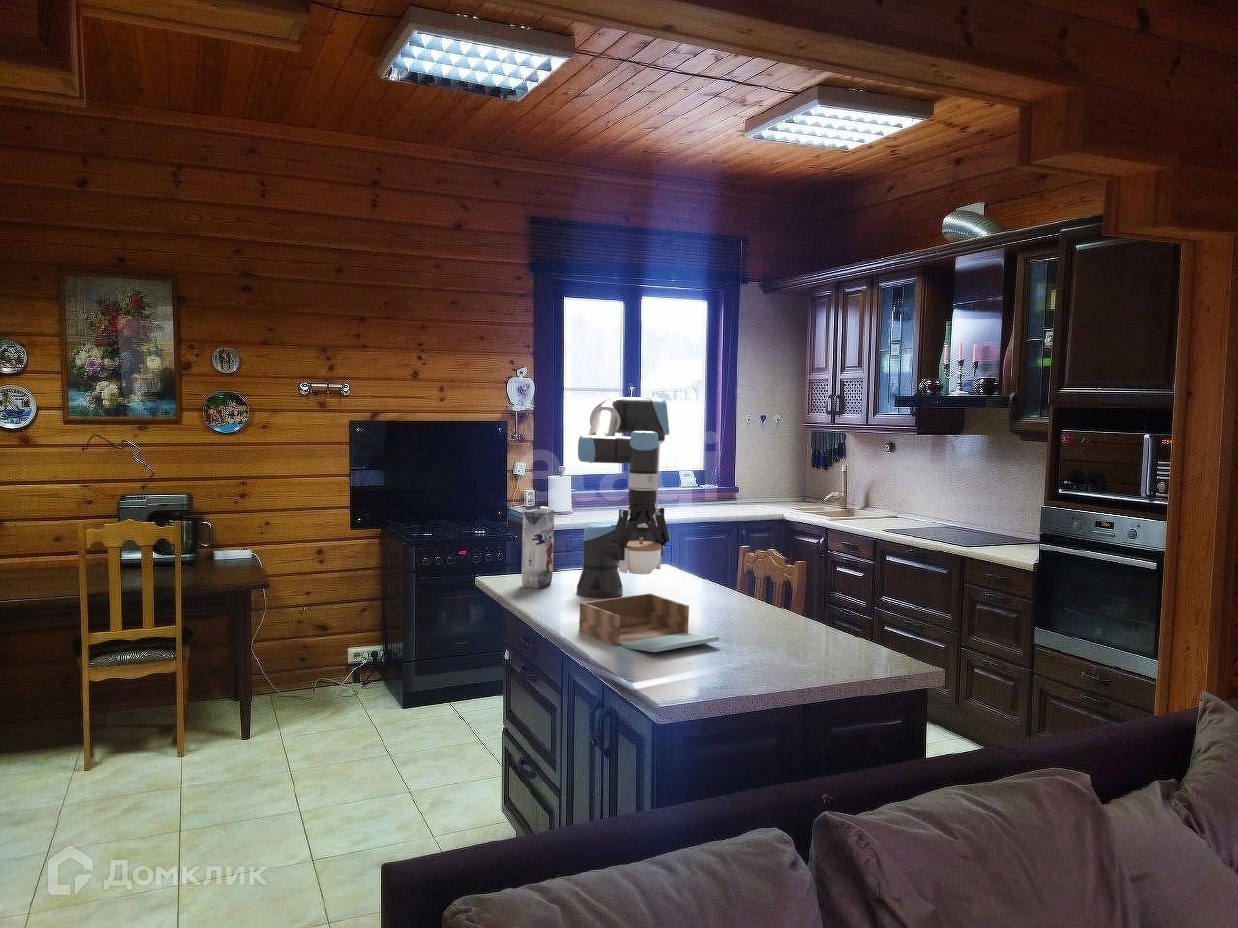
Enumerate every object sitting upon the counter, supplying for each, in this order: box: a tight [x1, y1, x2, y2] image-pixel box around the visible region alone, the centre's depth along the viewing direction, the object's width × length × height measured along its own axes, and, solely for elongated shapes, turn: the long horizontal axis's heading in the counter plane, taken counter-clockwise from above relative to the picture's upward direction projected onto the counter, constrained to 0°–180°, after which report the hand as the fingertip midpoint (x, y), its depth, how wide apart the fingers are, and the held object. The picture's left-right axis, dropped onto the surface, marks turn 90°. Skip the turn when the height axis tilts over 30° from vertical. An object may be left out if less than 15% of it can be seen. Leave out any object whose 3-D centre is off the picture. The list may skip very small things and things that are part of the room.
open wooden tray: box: [578, 593, 690, 647], centre depth 242 cm, size 17×24×9 cm
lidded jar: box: [626, 538, 661, 575], centre depth 241 cm, size 11×11×9 cm
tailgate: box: [619, 632, 720, 653], centre depth 230 cm, size 1×21×15 cm
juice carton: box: [521, 506, 555, 589], centre depth 303 cm, size 9×10×27 cm
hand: (640, 570), depth 242 cm, fingers closed on lidded jar, 11 cm apart
